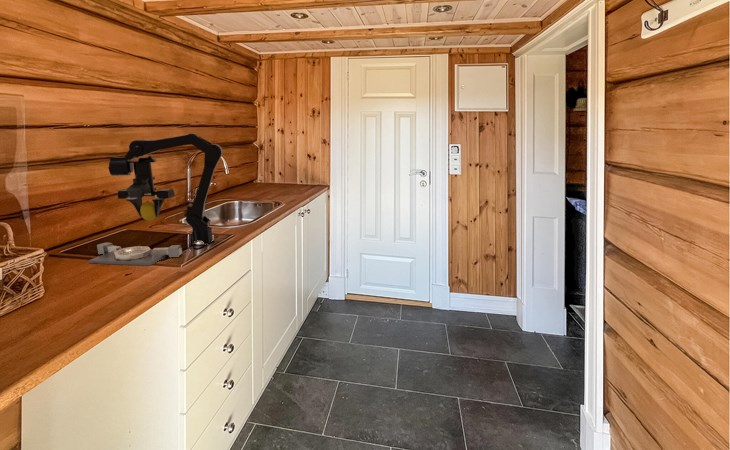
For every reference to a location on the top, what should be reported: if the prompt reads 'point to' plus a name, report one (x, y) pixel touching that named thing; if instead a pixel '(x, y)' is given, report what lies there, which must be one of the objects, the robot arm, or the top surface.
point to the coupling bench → (129, 262)
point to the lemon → (148, 211)
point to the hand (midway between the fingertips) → (149, 216)
